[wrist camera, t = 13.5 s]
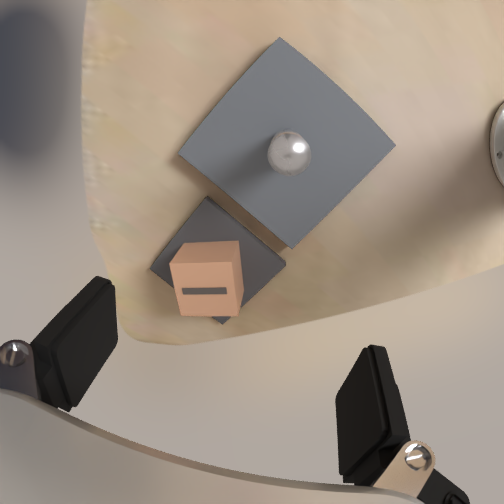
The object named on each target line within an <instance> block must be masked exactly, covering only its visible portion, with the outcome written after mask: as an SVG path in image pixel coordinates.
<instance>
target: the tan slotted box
mask: <svg viewBox="0 0 504 504" xmlns="http://www.w3.org/2000/svg"><path fill="white" fill-rule="evenodd" d="M169 265H170V270H171V274H172V279H173V283H174V288H175V292H176V297H177V301H178V305H179V310H180V314H181V316H239V311H240V306H241V302H242V297H243V293H244V285H243V276H242V267H241V258H240V248H239V241H218V242H196V243H184V244H183V245H182V246H181V248H180V249H179V251H178V252H177V253H176V255H175V256H174V258H173V259H172V261H171V262H170V263H169Z"/></svg>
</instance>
